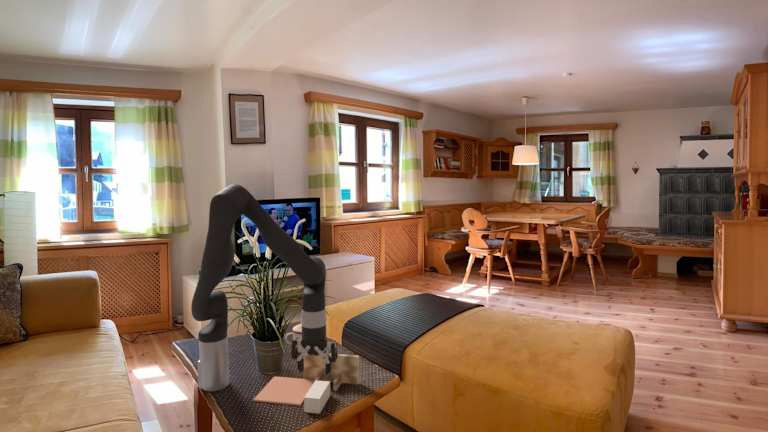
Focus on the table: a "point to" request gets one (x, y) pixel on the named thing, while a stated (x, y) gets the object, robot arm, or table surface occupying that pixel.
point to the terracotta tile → (285, 391)
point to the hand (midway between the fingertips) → (314, 372)
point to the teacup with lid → (296, 336)
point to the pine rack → (341, 371)
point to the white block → (317, 397)
